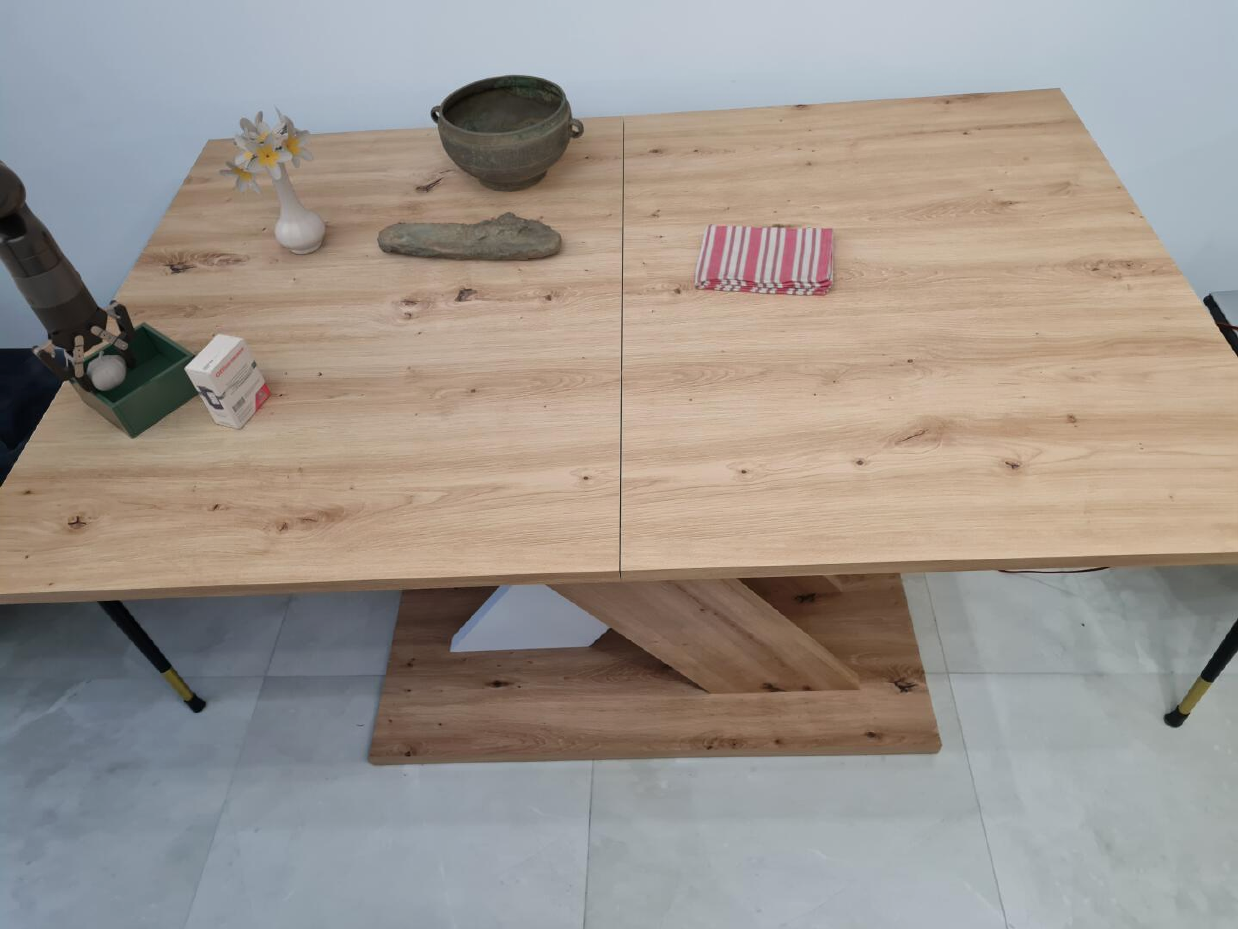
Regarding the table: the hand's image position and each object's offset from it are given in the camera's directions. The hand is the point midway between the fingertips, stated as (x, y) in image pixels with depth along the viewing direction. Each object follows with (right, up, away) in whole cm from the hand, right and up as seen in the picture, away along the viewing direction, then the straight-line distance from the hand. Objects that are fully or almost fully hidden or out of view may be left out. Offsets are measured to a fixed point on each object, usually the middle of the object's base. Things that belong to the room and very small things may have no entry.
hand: (112, 378), depth 138 cm
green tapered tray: (+2, -2, +8) cm, 8 cm away
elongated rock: (+50, +27, +29) cm, 64 cm away
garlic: (0, -1, +1) cm, 1 cm away
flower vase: (+19, +28, +33) cm, 47 cm away
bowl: (+56, +46, +46) cm, 86 cm away
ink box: (+19, -5, +4) cm, 20 cm away
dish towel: (+103, +22, +19) cm, 107 cm away
